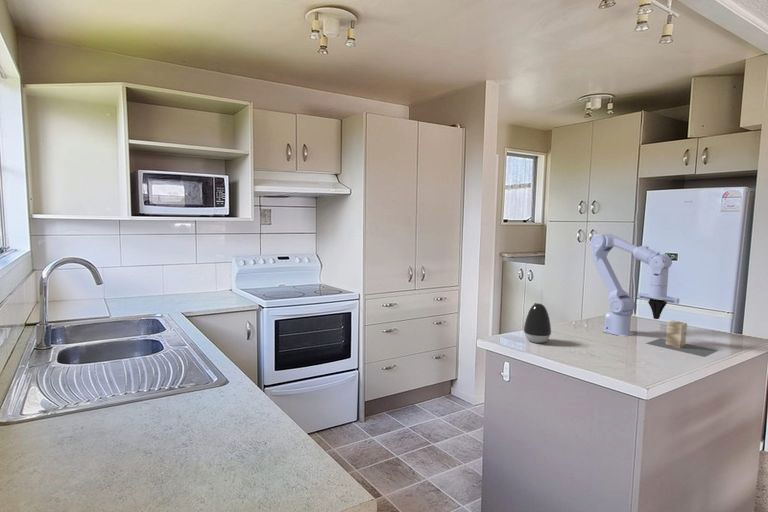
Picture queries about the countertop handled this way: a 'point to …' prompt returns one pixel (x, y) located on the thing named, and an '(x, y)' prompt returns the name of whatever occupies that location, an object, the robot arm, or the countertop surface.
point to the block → (676, 334)
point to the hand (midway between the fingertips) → (656, 318)
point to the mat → (684, 348)
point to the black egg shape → (537, 324)
